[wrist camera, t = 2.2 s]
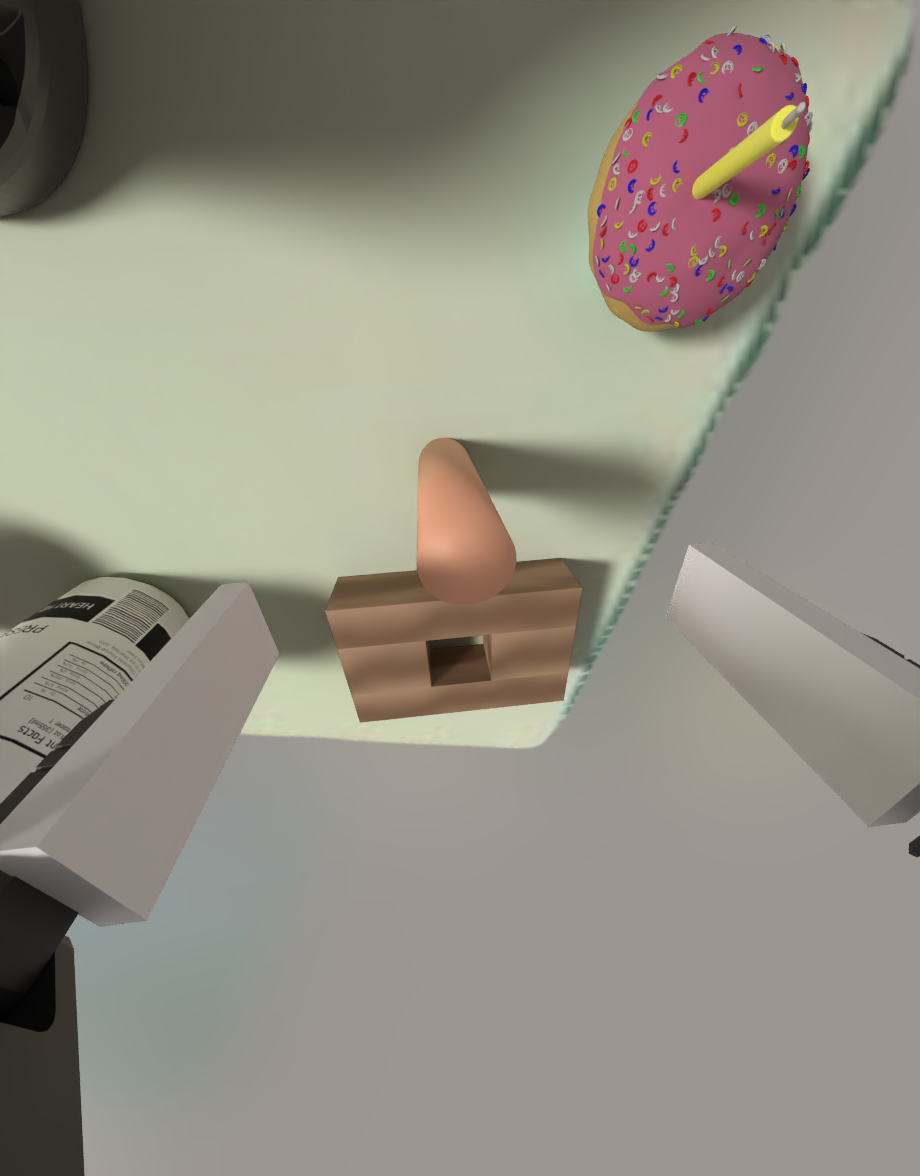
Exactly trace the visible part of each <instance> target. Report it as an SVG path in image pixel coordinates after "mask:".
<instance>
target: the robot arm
mask: <svg viewBox="0 0 920 1176" xmlns="http://www.w3.org/2000/svg"><path fill="white" fill-rule="evenodd" d="M87 102H88V64H87V52H86V42H85V34H84V28H83V21H82V15H81V10H80V5H79V0H0V216H5V215H10V214H14V213H17V212H21V211H24V210H26V209H28V208H30V207H32V206H34V205H36V204H38V203H39V202H41V201H42V200H44V199H45V198H46V197H47V196H49V195H50V194H51V193H52V192H53V191H54V190H55V189H56V188H57V187H58V186H59V184H60V183H61V182H62V181H63V179H64V178H65V176H66V175H67V173H68V172H69V170H70V168H71V166H72V164H73V162H74V160H75V157H76V155H77V152H78V149H79V146H80V143H81V139H82V135H83V131H84V126H85V120H86V112H87ZM666 618H667V619H668V620H669V621H670V622H671V623H672V624H673V625H674V626H675V627H676V628H677V629H678V630H679V631H680V633H681V634H682V635H683V636H684V637H685V638H686V639H687V640H688V641H689V642H690V643H691V644H692V645H693V646H694V647H695V648H696V649H697V650H698V651H699V652H700V653H701V654H702V655H703V656H704V657H705V658H706V659H707V660H708V662H709V663H710V664H711V665H712V666H713V667H714V668H715V669H716V670H717V671H718V672H719V673H720V674H721V675H722V676H723V677H724V678H725V679H726V680H727V681H728V682H729V683H730V684H731V685H732V686H733V687H734V688H735V689H736V691H738V693H739V694H741V696H742V697H743V698H744V699H745V700H746V701H747V702H748V703H749V704H750V705H751V706H752V707H753V708H754V709H755V710H756V711H757V712H758V713H759V714H760V715H761V716H762V717H763V718H764V719H765V720H766V721H767V722H768V724H769V725H770V726H771V727H772V728H773V729H774V730H775V731H776V732H777V733H778V734H779V735H780V736H781V737H782V738H783V739H784V740H785V741H786V742H787V743H788V744H789V745H790V746H791V747H792V748H793V749H794V751H795V752H797V754H798V755H799V756H800V757H801V758H802V759H803V760H804V761H806V763H807V764H808V765H809V766H810V767H811V768H812V769H813V770H814V771H815V772H816V773H817V774H818V775H819V776H820V777H821V778H822V779H823V781H825V783H826V784H827V785H828V786H829V787H830V788H831V789H832V790H833V791H834V792H835V793H836V794H837V795H838V796H839V797H840V798H841V799H842V800H843V801H844V802H845V803H846V804H847V805H848V806H849V807H850V808H851V809H852V810H853V811H854V812H855V813H856V815H857V816H858V817H859V818H860V819H861V820H862V821H863V822H864V823H865V824H866V825H867V826H868V827H873V826H880V825H888V824H896V823H904V822H907V821H908V820H910V819H911V818H912V817H913V816H915V815H916V814H917V813H918V812H919V811H920V665H918V664H917V663H915V662H913V661H912V660H910V659H909V660H906V659H905V658H904V655H902V654H900V653H898V652H897V651H895V650H894V649H892V648H890V647H889V646H887V645H885V644H883V643H882V642H880V641H879V640H877V639H875V638H872V637H870V636H868V635H865V634H863V633H861V632H859V631H857V630H856V629H854V628H852V627H851V626H849V625H847V624H846V623H844V622H842V621H841V620H839V619H837V618H836V617H834V616H833V615H831V614H829V613H828V612H826V611H824V610H823V609H821V608H819V607H818V606H816V605H814V604H813V603H811V602H809V601H808V600H806V599H805V598H803V597H801V596H800V595H798V594H796V593H795V592H793V591H791V590H790V589H788V588H787V587H785V586H783V585H782V584H780V583H778V582H777V581H775V580H773V579H772V578H770V577H769V576H767V575H765V574H764V573H762V572H760V571H759V570H757V569H755V568H754V567H752V566H750V565H749V564H747V563H746V562H744V561H742V560H740V559H739V558H737V557H736V556H734V555H732V554H731V553H729V552H727V551H726V550H724V549H722V548H721V547H719V546H717V545H716V544H714V543H706V544H694V545H689V547H688V550H687V553H686V556H685V559H684V562H683V565H682V568H681V571H680V574H679V578H678V581H677V584H676V587H675V590H674V593H673V596H672V599H671V602H670V605H669V608H668V611H667V614H666ZM278 655H279V652H278V649H277V647H276V645H275V642H274V640H273V638H272V635H271V633H270V631H269V628H268V626H267V624H266V621H265V619H264V617H263V614H262V612H261V610H260V607H259V605H258V603H257V600H256V598H255V596H254V593H253V591H252V589H251V586H250V584H249V582H244V583H232V584H221V585H220V586H219V587H218V588H217V590H216V591H215V592H214V593H213V594H212V595H211V596H210V597H209V598H208V599H207V600H206V602H205V603H204V604H203V605H202V606H201V607H200V608H199V609H198V610H197V611H196V612H195V613H194V615H193V616H192V617H191V618H190V619H189V620H188V621H187V622H186V623H185V624H184V625H183V626H182V628H181V629H180V630H179V631H178V632H177V633H176V634H175V635H174V636H173V637H172V638H171V640H170V641H169V642H168V643H167V644H166V645H165V646H164V647H163V648H162V649H161V650H160V651H159V653H158V654H157V655H156V656H155V657H154V658H153V659H152V660H151V661H150V662H149V663H148V665H147V666H146V667H145V668H144V669H143V670H142V671H141V672H140V673H139V674H138V675H137V676H136V678H135V679H134V680H133V681H132V682H131V683H130V684H129V685H128V686H127V687H126V688H125V690H124V691H123V692H122V693H121V694H120V695H119V696H118V697H117V698H116V699H114V700H109V701H107V702H106V703H105V704H103V705H102V706H100V707H99V708H98V709H96V710H95V711H93V712H92V713H91V714H89V715H88V716H87V717H85V718H84V719H82V720H81V721H80V722H79V723H78V724H77V725H76V726H75V727H74V728H73V729H72V730H71V731H70V732H69V733H68V734H67V735H66V736H65V737H64V738H63V739H62V740H61V741H60V742H59V743H58V745H57V749H56V750H54V751H51V752H50V753H49V754H48V755H47V756H46V757H45V758H44V759H43V760H42V761H41V762H40V763H39V764H38V765H37V766H36V771H35V772H31V773H30V774H29V775H28V776H27V777H26V778H25V779H24V780H23V781H22V782H21V783H20V784H19V785H18V786H17V787H16V788H15V789H14V790H13V791H12V792H11V793H10V794H9V795H8V796H7V797H6V798H5V799H4V801H3V802H2V803H1V804H0V1176H84V1159H83V1158H84V1157H83V1136H82V1116H81V1096H80V1095H81V1094H80V1072H79V1052H78V1031H77V1009H76V988H75V966H74V948H73V946H72V943H71V941H70V939H69V937H67V936H65V934H66V933H67V931H68V929H69V927H70V926H71V925H72V923H73V921H74V920H75V918H76V917H77V915H78V914H79V915H80V916H82V917H84V918H86V919H88V920H89V921H91V922H93V923H94V924H96V925H98V926H100V927H101V926H108V925H116V924H124V923H132V922H139V921H146V920H147V919H148V917H149V915H150V913H151V911H152V909H153V907H154V905H155V903H156V901H157V899H158V897H159V894H160V893H161V891H162V889H163V887H164V885H165V883H166V881H167V879H168V877H169V875H170V873H171V871H172V869H173V867H174V865H175V863H176V861H177V859H178V857H179V855H180V853H181V851H182V849H183V847H184V845H185V843H186V840H187V838H188V837H189V835H190V832H191V831H192V829H193V827H194V824H195V822H196V820H197V818H198V816H199V814H200V812H201V810H202V808H203V806H204V804H205V802H206V800H207V798H208V796H209V794H210V792H211V790H212V788H213V786H214V784H215V782H216V780H217V778H218V776H219V774H220V772H221V770H222V768H223V766H224V764H225V762H226V760H227V758H228V756H229V754H230V752H231V750H232V748H233V746H234V744H235V742H236V740H237V738H238V736H239V734H240V732H241V730H242V728H243V726H244V724H245V722H246V720H247V718H248V716H249V714H250V712H251V710H252V708H253V706H254V704H255V702H256V700H257V698H258V696H259V694H260V692H261V690H262V688H263V686H264V684H265V682H266V680H267V678H268V676H269V674H270V672H271V670H272V668H273V666H274V664H275V662H276V659H277V657H278ZM909 854H911V855H913V856H915V857H919V856H920V836H919V837H917V838H916V839H915V840H913V841H912V842H910V843H909Z"/></svg>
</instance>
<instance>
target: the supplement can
mask: <svg viewBox="0 0 920 1176" xmlns="http://www.w3.org/2000/svg"><path fill="white" fill-rule="evenodd" d="M188 620H189V618H188V616H187V614H186V613H185V611H184V609H183V608H182V606H181V605H180V604H179V603H178V602H176V601H175V600H174V599H173V598H172V597H171V596H170V595H169V594H167V593H165V592H163V591H161V590H160V589H158V588H156V587H154V586H152V585H149V584H146V583H142V582H139V581H136V580H130V579H127V578H116V577H100V578H96V579H92V580H88V581H84V582H83V583H81V584H80V585H78V586H77V587H75V588H73V589H72V590H70V591H69V592H67V593H66V594H64V595H63V596H61V597H60V598H58V599H57V600H55V601H54V602H52V603H51V604H49V605H48V606H46V607H45V608H43V609H41V610H40V611H38V612H37V613H35V614H34V615H32V616H31V617H29V618H28V619H26V620H25V621H23V622H22V623H20V624H19V625H17V626H16V627H14V628H13V629H11V630H9V631H8V632H6V633H5V634H3V635H2V636H0V804H1V803H2V802H3V801H4V799H5V798H6V797H7V796H8V795H9V794H10V793H11V792H12V791H13V790H14V789H15V788H16V787H17V786H18V785H19V784H20V783H21V782H22V781H23V780H24V779H25V778H26V777H27V776H28V775H29V774H30V773H31V772H35V771H36V766H37V765H38V764H39V763H40V762H41V761H42V760H43V759H44V758H45V757H46V756H47V755H48V754H49V753H50V752H51V751H54V750H56V749H57V745H58V743H59V742H60V741H61V740H62V739H63V738H64V737H65V736H66V735H67V734H68V733H69V732H70V731H71V730H72V729H73V728H74V727H75V726H76V725H77V724H78V723H79V722H80V721H81V720H82V719H84V718H85V717H87V716H88V715H89V714H91V713H92V712H93V711H95V710H96V709H98V708H99V707H100V706H102V705H103V704H105V703H106V702H107V701H109V700H114V699H116V698H117V697H118V696H119V695H120V694H121V693H122V692H123V691H124V690H125V688H126V687H127V686H128V685H129V684H130V683H131V682H132V681H133V680H134V679H135V678H136V676H137V675H138V674H139V673H140V672H141V671H142V670H143V669H144V668H145V667H146V666H147V665H148V663H149V662H150V661H151V660H152V659H153V658H154V657H155V656H156V655H157V654H158V653H159V651H160V650H161V649H162V648H163V647H164V646H165V645H166V644H167V643H168V642H169V641H170V640H171V638H172V637H173V636H174V635H175V634H176V633H177V632H178V631H179V630H180V629H181V628H182V626H183V625H184V624H185V623H186V622H187V621H188Z"/></svg>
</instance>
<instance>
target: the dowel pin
mask: <svg viewBox="0 0 920 1176" xmlns="http://www.w3.org/2000/svg"><path fill="white" fill-rule="evenodd" d="M515 566H516V551H515V547H514V544H513V542H512V540H511V538H510V536H509V534H508V532H507V530H506V528H505V526H504V524H503V522H502V520H501V518H500V516H499V514H498V512H497V510H496V508H495V506H494V504H493V502H492V500H491V498H490V496H489V494H488V492H487V490H486V488H485V486H484V484H483V482H482V480H481V478H480V476H479V474H478V473H477V471H476V469H475V467H474V465H473V463H472V461H471V459H470V457H469V455H468V453H467V451H466V449H465V448H464V447H463V446H462V445H461V444H460V443H459V442H457V441H456V440H453V439H450V438H439V439H435V440H433V441H431V442H430V443H429V444H427V445H426V446H425V448H424V449H423V450H422V452H421V455H420V458H419V474H418V522H417V571H418V575H419V578H420V580H421V582H422V584H423V585H424V587H425V588H426V589H427V590H428V591H429V592H430V593H431V594H432V595H433V596H435V597H436V598H438V599H440V600H442V601H444V602H447V603H451V604H456V605H470V604H476V603H480V602H483V601H485V600H488V599H490V598H492V597H493V596H495V595H496V594H498V593H499V592H500V591H501V590H502V589H503V588H504V587H505V586H506V585H507V583H508V582H509V581H510V579H511V577H512V575H513V573H514V570H515Z"/></svg>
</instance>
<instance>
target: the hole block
mask: <svg viewBox="0 0 920 1176" xmlns="http://www.w3.org/2000/svg"><path fill="white" fill-rule="evenodd" d="M581 593H582V586H581V585H580V584H579V582H578V581H577V579H576V578H575V577H574V575H573V574H572V572H571V571H570V570H569V568H568V567H567V565H566V564H565V563H564V561H563V560H562V558H557V559H546V560H534V561H523V562H516V566H515V570H514V573H513V575H512V577H511V579H510V581H509V582H508V583H507V585H506V586H505V587H504V588H503V589H502V590H501V591H500V592H499V593H498V594H496V595H495V596H493V597H492V598H490V599H488V600H485V601H483V602H480V603H476V604H470V605H456V604H451V603H447V602H444V601H442V600H440V599H438V598H436V597H435V596H433V595H432V594H431V593H430V592H429V591H428V590H427V589H426V588H425V587H424V585H423V584H422V582H421V580H420V578H419V575H418V571H407V572H395V573H384V574H372V575H361V576H349V577H338V579H337V581H336V584H335V587H334V589H333V592H332V595H331V597H330V600H329V602H328V605H327V608H326V610H325V612H326V616H327V619H328V622H329V625H330V628H331V631H332V635H333V638H334V641H335V644H336V647H337V651H338V654H339V657H340V660H341V663H342V667H343V670H344V673H345V676H346V679H347V682H348V686H349V689H350V692H351V695H352V698H353V702H354V705H355V708H356V711H357V714H358V717H359V721H360V722H369V721H379V720H388V719H397V718H406V717H416V716H425V715H434V714H443V713H452V712H462V711H471V710H480V709H489V708H499V707H508V706H517V705H526V704H536V703H545V702H554V701H563V700H564V695H565V689H566V683H567V677H568V671H569V665H570V659H571V653H572V647H573V641H574V635H575V629H576V623H577V617H578V611H579V605H580V599H581ZM480 635H483V644H482V645H472V646H461V647H451V648H441V649H431V650H430V644H429V640H439V639H449V638H460V637H470V636H480Z"/></svg>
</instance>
